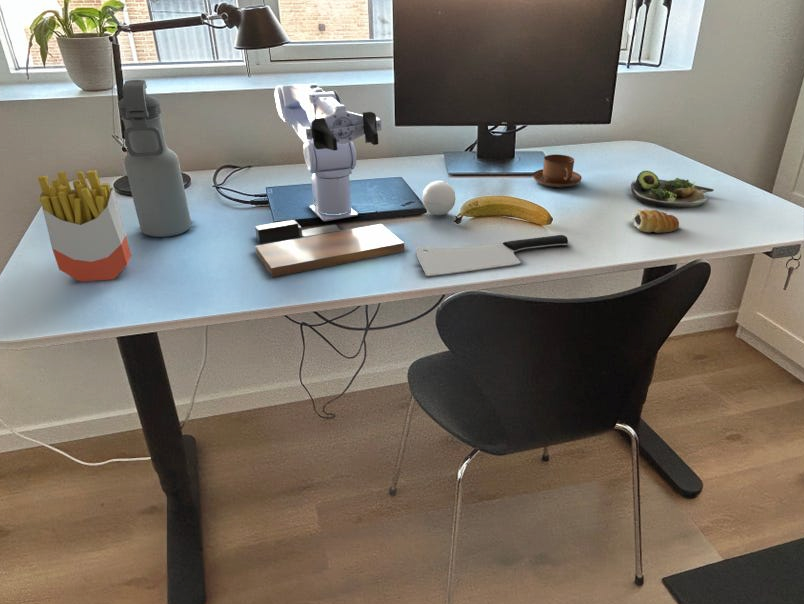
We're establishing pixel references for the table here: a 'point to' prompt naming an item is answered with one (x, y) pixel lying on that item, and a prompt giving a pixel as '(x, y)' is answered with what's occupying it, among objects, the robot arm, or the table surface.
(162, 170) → the water bottle
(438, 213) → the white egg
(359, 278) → the table surface
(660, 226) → the pastry
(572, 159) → the cup and saucer
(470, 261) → the kitchen cleaver
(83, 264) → the french fries container
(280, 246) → the cutting board
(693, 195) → the salad plate
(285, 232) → the two-tone stepped block
